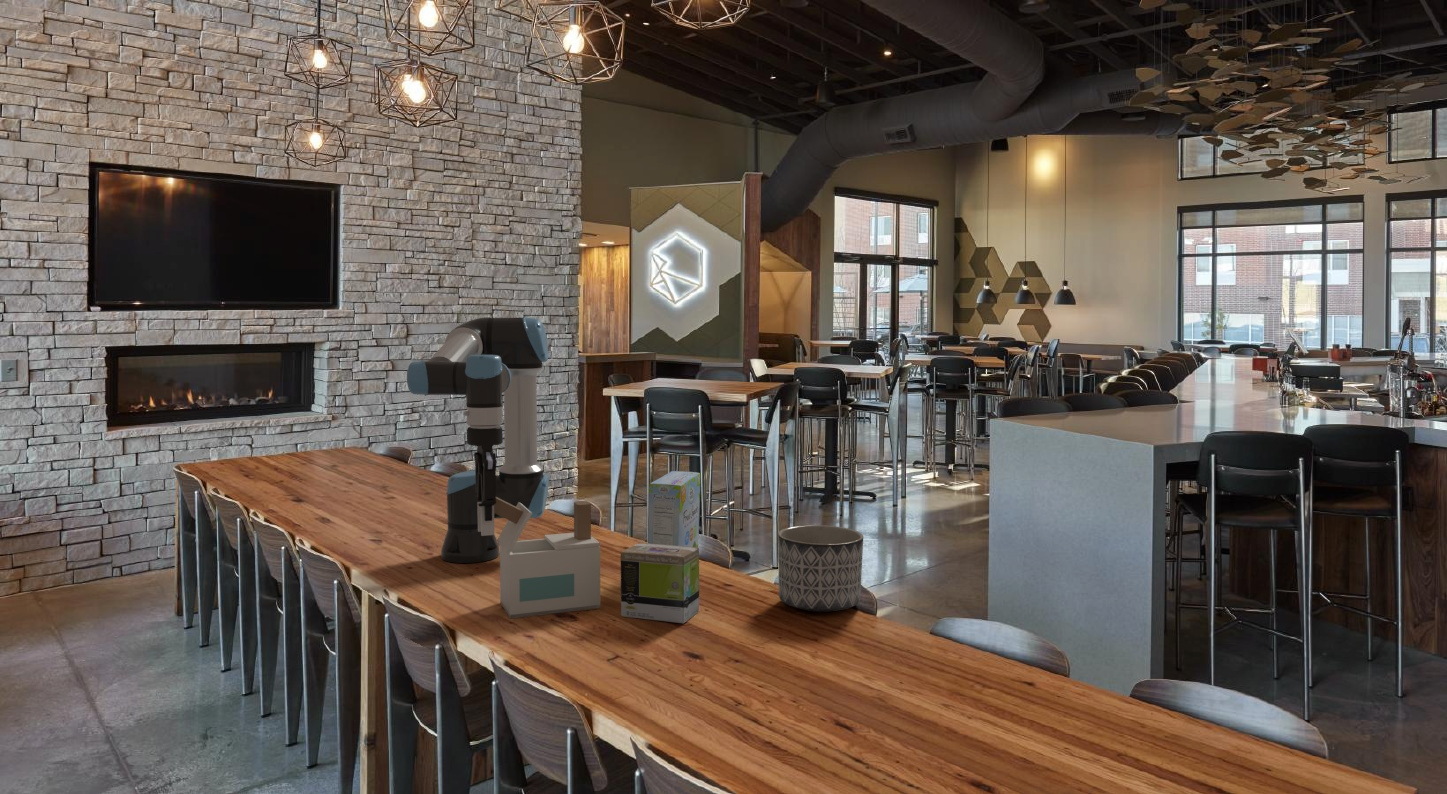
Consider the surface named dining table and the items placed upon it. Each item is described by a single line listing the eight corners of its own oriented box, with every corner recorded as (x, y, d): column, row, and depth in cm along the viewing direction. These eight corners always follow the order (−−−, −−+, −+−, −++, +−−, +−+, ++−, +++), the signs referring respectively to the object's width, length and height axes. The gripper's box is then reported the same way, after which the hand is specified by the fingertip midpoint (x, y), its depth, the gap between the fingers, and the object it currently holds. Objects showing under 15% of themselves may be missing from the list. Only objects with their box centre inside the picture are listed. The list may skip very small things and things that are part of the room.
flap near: (499, 541, 212) (465, 525, 208) (521, 503, 213) (487, 486, 210) (509, 553, 201) (473, 536, 198) (532, 513, 202) (496, 495, 199)
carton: (500, 602, 213) (499, 503, 211) (586, 593, 221) (586, 497, 219) (510, 618, 202) (509, 513, 200) (600, 608, 210) (600, 507, 208)
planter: (766, 612, 208) (767, 539, 207) (790, 589, 226) (791, 522, 225) (851, 622, 202) (853, 547, 200) (869, 598, 220) (870, 529, 218)
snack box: (680, 591, 224) (681, 485, 222) (645, 589, 225) (645, 483, 223) (700, 568, 245) (701, 470, 243) (668, 566, 247) (669, 469, 244)
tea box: (700, 611, 208) (700, 546, 207) (683, 625, 199) (684, 557, 198) (638, 604, 213) (638, 540, 212) (619, 617, 204) (619, 550, 203)
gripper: (461, 422, 209) (462, 526, 211) (473, 431, 193) (474, 542, 195) (495, 421, 212) (496, 523, 214) (509, 429, 196) (510, 539, 198)
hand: (486, 532), depth 204 cm, fingers closed on flap near, 4 cm apart
